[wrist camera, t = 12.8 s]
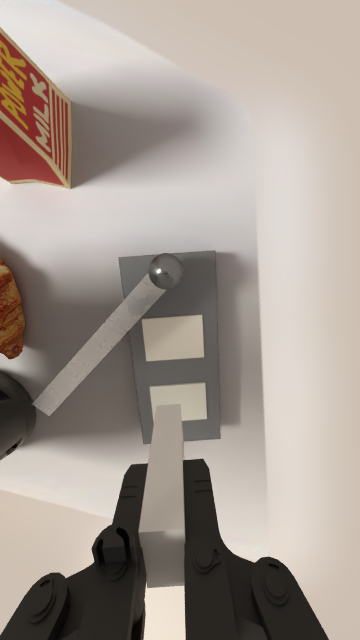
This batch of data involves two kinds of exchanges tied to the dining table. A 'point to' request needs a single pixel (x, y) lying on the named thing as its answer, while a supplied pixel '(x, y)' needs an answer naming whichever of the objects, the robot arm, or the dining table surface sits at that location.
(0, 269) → the croissant
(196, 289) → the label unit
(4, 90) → the milk carton
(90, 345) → the swing arm
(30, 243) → the dining table surface
